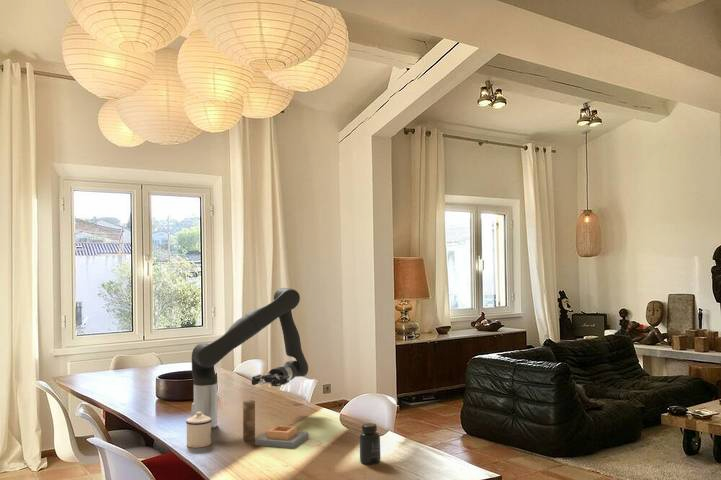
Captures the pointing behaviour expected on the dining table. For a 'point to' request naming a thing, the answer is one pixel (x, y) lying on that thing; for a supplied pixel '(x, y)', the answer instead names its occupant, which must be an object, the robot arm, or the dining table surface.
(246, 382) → the dining table surface
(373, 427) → the supplement bottle
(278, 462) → the dining table surface
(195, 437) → the teacup with lid
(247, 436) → the walnut peg
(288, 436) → the collar base
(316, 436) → the dining table surface
